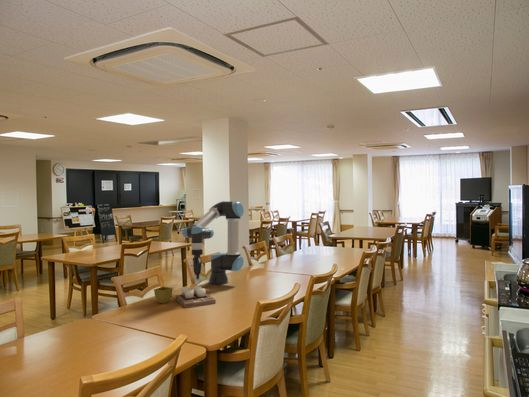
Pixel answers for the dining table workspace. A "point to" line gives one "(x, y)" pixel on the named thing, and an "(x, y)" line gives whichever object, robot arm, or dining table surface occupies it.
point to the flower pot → (163, 294)
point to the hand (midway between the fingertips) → (197, 283)
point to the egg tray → (195, 300)
